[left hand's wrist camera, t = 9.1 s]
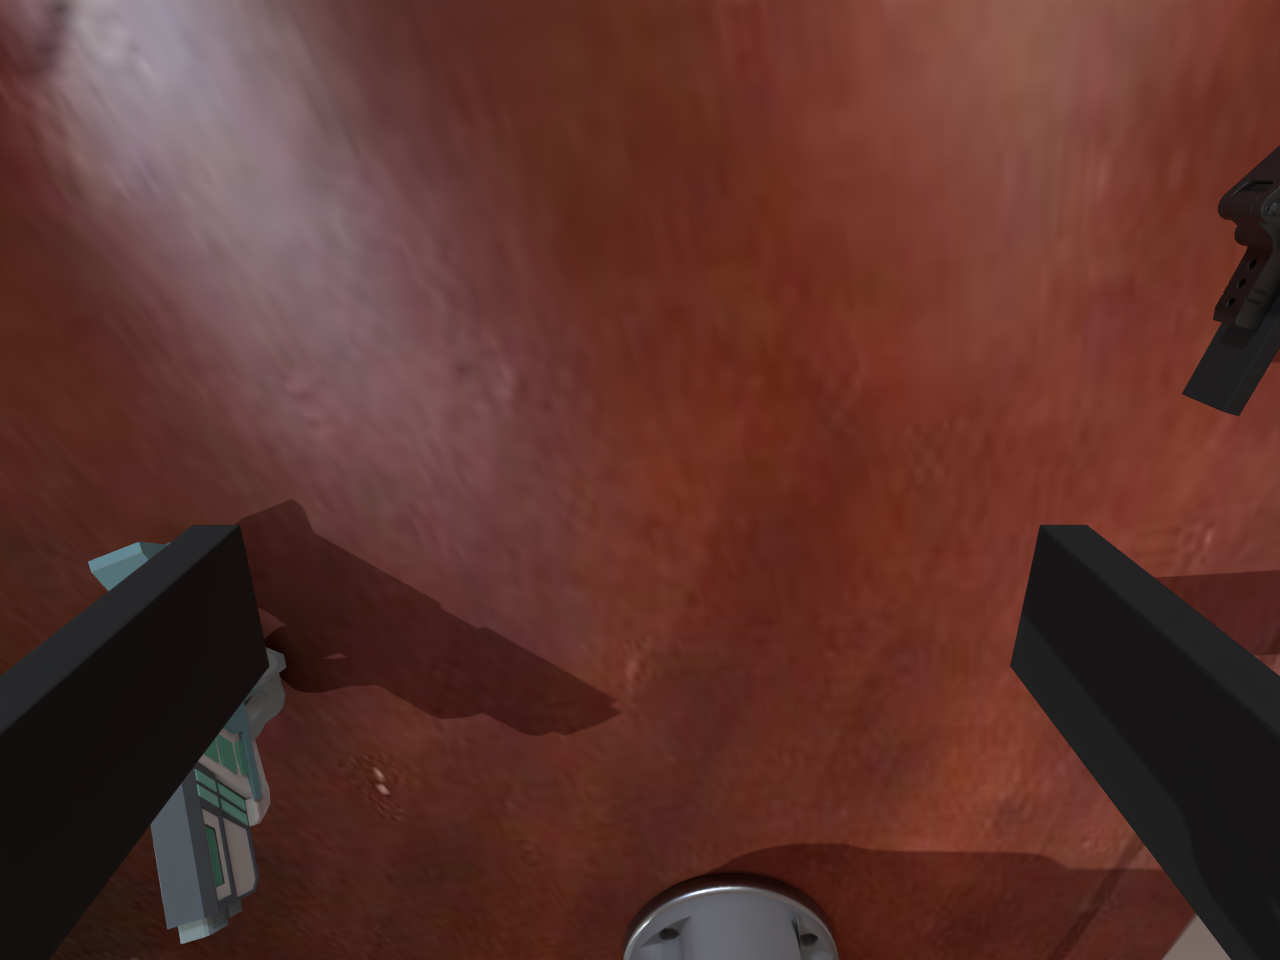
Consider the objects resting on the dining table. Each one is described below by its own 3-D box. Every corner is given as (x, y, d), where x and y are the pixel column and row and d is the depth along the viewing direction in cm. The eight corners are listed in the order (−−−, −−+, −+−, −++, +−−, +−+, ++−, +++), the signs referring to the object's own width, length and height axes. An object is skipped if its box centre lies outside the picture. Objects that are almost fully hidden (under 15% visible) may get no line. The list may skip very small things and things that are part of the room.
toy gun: (286, 882, 45) (143, 958, 35) (225, 568, 49) (82, 559, 39) (341, 866, 44) (212, 938, 34) (275, 550, 48) (143, 535, 39)
